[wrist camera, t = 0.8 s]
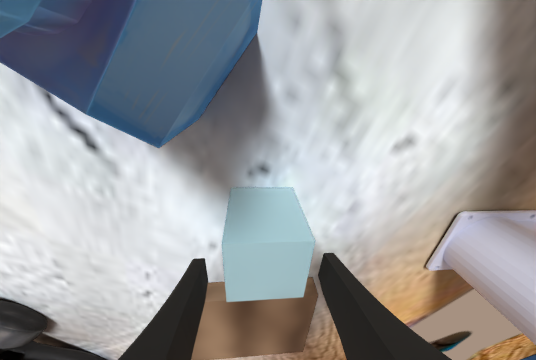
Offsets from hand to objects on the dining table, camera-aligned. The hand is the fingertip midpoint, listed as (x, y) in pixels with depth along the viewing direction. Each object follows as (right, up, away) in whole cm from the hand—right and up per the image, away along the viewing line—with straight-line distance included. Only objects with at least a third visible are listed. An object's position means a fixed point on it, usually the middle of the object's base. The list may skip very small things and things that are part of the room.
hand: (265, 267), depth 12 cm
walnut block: (-2, -11, +12) cm, 16 cm away
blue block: (0, +2, +5) cm, 6 cm away
